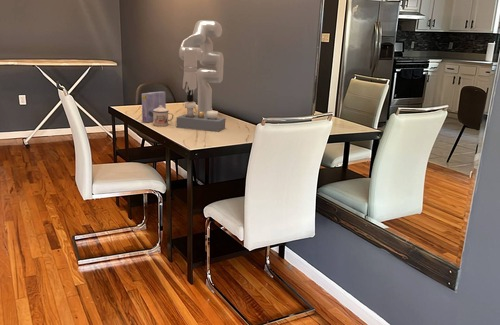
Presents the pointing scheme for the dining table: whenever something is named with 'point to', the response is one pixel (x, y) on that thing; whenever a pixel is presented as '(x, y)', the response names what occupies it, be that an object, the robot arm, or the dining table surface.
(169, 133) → the dining table surface
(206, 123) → the mount
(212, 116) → the ivory knob
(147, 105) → the cake pan box
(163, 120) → the teacup with lid
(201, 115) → the brass ball
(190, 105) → the ivory knob
